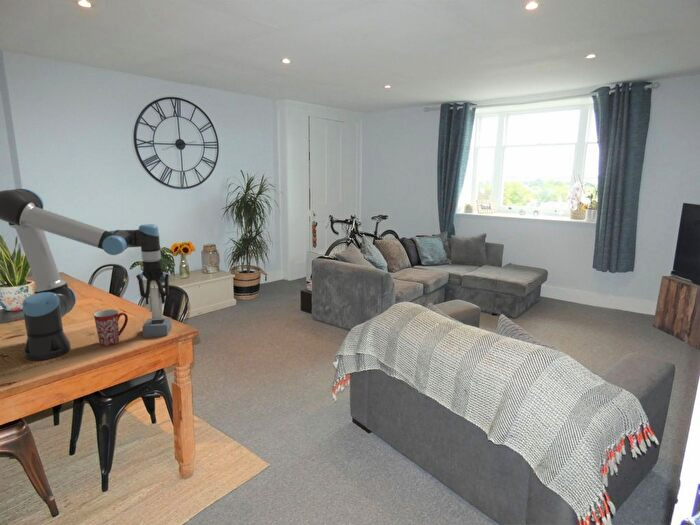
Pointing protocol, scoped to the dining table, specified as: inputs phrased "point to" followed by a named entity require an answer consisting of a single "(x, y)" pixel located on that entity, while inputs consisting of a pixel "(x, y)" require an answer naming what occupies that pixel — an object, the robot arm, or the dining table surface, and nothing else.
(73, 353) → the dining table surface
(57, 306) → the robot arm
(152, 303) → the candle
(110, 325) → the mug
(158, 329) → the holder
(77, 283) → the dining table surface
